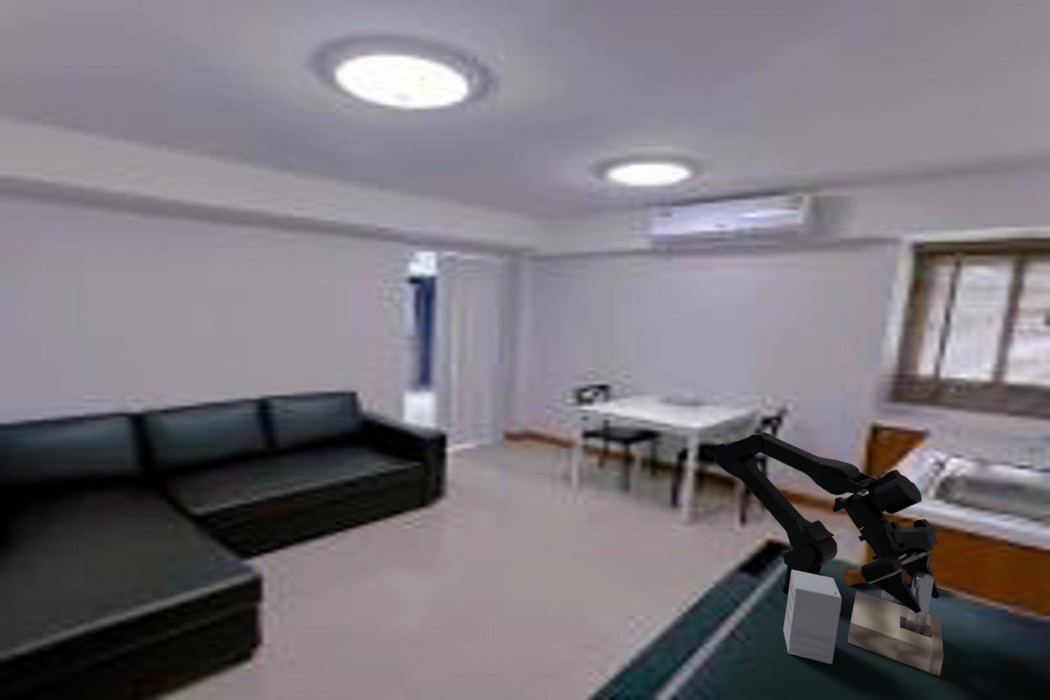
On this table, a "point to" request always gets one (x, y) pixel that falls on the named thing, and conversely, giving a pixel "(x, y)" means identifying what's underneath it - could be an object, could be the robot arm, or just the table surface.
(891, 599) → the short pin
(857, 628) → the hole block
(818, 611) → the supplement box
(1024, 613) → the table surface
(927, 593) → the long pin
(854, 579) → the kendama
